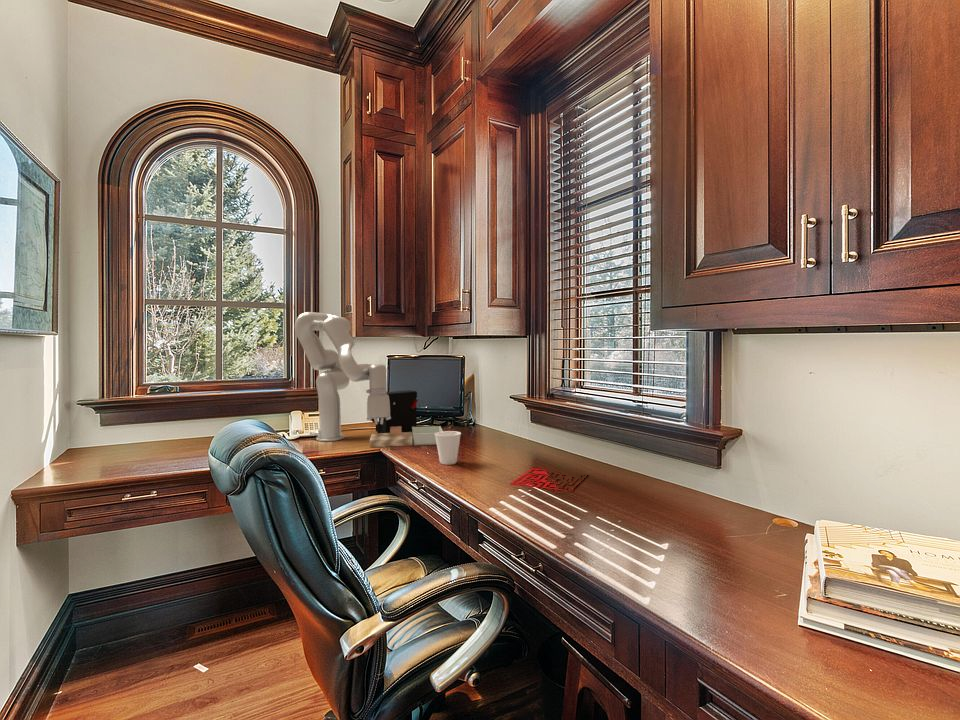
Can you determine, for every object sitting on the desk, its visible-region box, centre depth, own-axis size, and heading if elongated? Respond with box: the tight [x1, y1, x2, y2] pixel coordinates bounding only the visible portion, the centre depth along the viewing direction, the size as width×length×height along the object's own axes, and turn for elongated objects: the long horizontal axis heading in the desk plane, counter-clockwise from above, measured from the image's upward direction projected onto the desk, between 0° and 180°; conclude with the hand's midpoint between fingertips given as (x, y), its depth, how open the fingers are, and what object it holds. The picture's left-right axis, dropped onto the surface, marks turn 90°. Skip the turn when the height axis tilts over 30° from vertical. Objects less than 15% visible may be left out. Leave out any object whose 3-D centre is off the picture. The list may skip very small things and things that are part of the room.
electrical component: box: [378, 389, 419, 433], centre depth 248 cm, size 18×10×20 cm, turn 128°
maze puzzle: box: [509, 468, 574, 492], centre depth 163 cm, size 20×20×1 cm
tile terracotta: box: [390, 426, 402, 435], centre depth 228 cm, size 5×5×3 cm
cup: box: [434, 430, 462, 466], centre depth 186 cm, size 10×10×11 cm
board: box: [369, 432, 414, 448], centre depth 224 cm, size 18×15×3 cm
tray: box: [411, 425, 444, 447], centre depth 227 cm, size 13×17×5 cm
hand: (379, 432), depth 227 cm, fingers closed
